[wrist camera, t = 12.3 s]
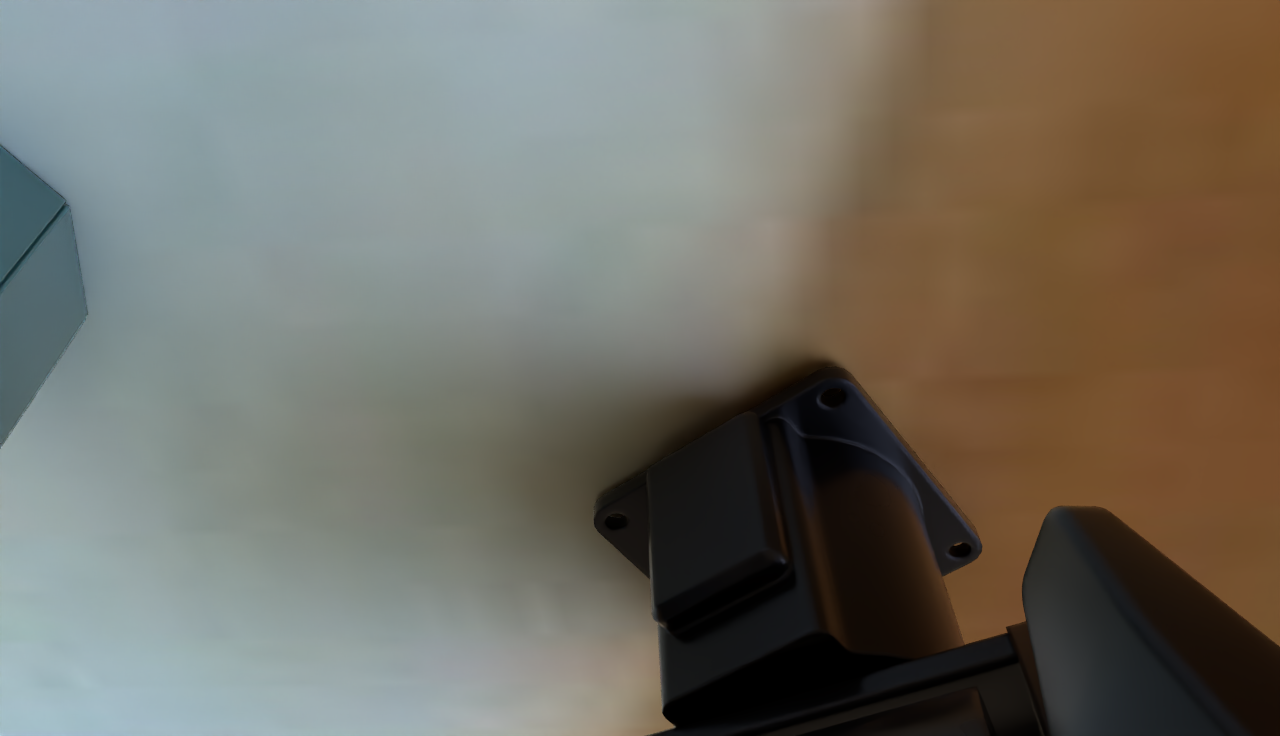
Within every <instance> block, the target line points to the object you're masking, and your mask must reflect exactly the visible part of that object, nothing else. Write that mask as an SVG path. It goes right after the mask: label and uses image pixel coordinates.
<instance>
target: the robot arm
mask: <svg viewBox="0 0 1280 736" xmlns="http://www.w3.org/2000/svg"><path fill="white" fill-rule="evenodd" d="M831 388H839V389H841V391H839V392H838V393H837V394H835V395H832V396H824V395H822V394H823V393H824V392H825V391H826V390H828V389H831ZM614 513H618V514H623V515H624V516H622V517H619V518H616V517H611V516H609V515H611V514H614ZM594 526H595V528H596V529H597V531H598V532H599V533H600V534H601V535H602V536H603V537H604V538H605V539H607V540H608V541H609V542H610V543H611V544H612V545H613V546H614V547H615V548H616V549H617V550H619V551H620V552H621V553H622V554H623V555H624V556H625V557H626V558H627V559H628V560H630V561H631V562H632V563H633V564H634V565H635V566H636V567H637V568H638V569H639V570H640V571H642V572H643V573H644V574H645V575H646V576H647V577H648V578H649V579H650V586H651V607H652V616H653V619H654V620H655V621H656V622H657V623H658V640H659V660H660V679H661V698H662V713H663V715H664V717H665V718H666V719H667V720H668V721H670V722H671V723H672V724H673V725H674V728H671V729H667V730H664V731H660V732H657V733H653V734H650V735H646V736H1280V647H1279V646H1278V645H1277V644H1276V643H1274V642H1273V641H1272V640H1271V639H1269V638H1268V637H1267V636H1266V635H1264V634H1263V633H1262V632H1261V631H1259V630H1258V629H1257V628H1256V627H1254V626H1253V625H1252V624H1251V623H1249V622H1248V621H1247V620H1246V619H1244V618H1243V617H1242V616H1241V615H1239V614H1238V613H1237V612H1235V611H1234V610H1233V609H1232V608H1230V607H1229V606H1228V605H1227V604H1225V603H1224V602H1223V601H1222V600H1220V599H1219V598H1218V597H1217V596H1215V595H1214V594H1213V593H1212V592H1210V591H1209V590H1208V589H1207V588H1205V587H1204V586H1203V585H1202V584H1200V583H1199V582H1198V581H1197V580H1195V579H1194V578H1193V577H1192V576H1190V575H1189V574H1188V573H1187V572H1185V571H1184V570H1183V569H1181V568H1180V567H1179V566H1178V565H1176V564H1175V563H1174V562H1173V561H1171V560H1170V559H1169V558H1168V557H1166V556H1165V555H1164V554H1163V553H1161V552H1160V551H1159V550H1158V549H1156V548H1155V547H1154V546H1153V545H1151V544H1150V543H1149V542H1148V541H1146V540H1145V539H1144V538H1143V537H1141V536H1140V535H1139V534H1138V533H1136V532H1135V531H1134V530H1133V529H1131V528H1130V527H1129V526H1128V525H1126V524H1125V523H1124V522H1122V521H1121V520H1120V519H1119V518H1117V517H1116V516H1115V515H1114V514H1112V513H1111V512H1109V511H1108V510H1106V509H1104V508H1101V507H1096V506H1058V507H1055V508H1053V509H1051V510H1050V511H1049V512H1048V514H1047V515H1046V517H1045V519H1044V521H1043V524H1042V527H1041V530H1040V532H1039V535H1038V538H1037V541H1036V543H1035V546H1034V549H1033V552H1032V554H1031V557H1030V560H1029V563H1028V566H1027V568H1026V571H1025V574H1024V578H1023V584H1022V599H1023V607H1024V612H1025V617H1026V622H1022V623H1019V624H1015V625H1012V626H1008V627H1006V629H1007V632H1008V633H1004V634H1001V635H997V636H994V637H990V638H987V639H983V640H980V641H976V642H973V643H969V644H966V645H964V641H963V638H962V635H961V632H960V629H959V626H958V623H957V620H956V617H955V614H954V611H953V608H952V605H951V602H950V599H949V596H948V593H947V590H946V587H945V584H944V581H943V578H942V576H945V575H947V574H949V573H951V572H953V571H955V570H957V569H959V568H961V567H963V566H965V565H967V564H969V563H971V562H972V561H974V560H975V559H977V558H978V556H979V555H980V554H981V552H982V544H981V541H980V538H979V536H978V533H977V531H976V528H975V527H974V526H973V525H972V523H971V522H970V521H969V520H968V518H967V517H966V516H965V515H964V513H963V512H962V511H961V510H960V508H959V507H958V506H957V505H956V503H955V502H954V501H953V500H952V498H951V497H950V496H949V495H948V494H947V492H946V491H945V490H944V489H943V487H942V486H941V485H940V484H939V482H938V481H937V480H936V479H935V477H934V476H933V475H932V474H931V472H930V471H929V470H928V469H927V467H926V466H925V465H924V464H923V463H922V461H921V460H920V459H919V458H918V456H917V455H916V454H915V453H914V451H913V450H912V449H911V448H910V446H909V445H908V444H907V443H906V441H905V440H904V439H903V438H902V436H901V435H900V434H899V433H898V432H897V430H896V429H895V428H894V427H893V425H892V424H891V423H890V422H889V420H888V419H887V418H886V417H885V415H884V414H883V413H882V412H881V410H880V409H879V408H878V407H877V405H876V404H875V403H874V402H873V401H872V399H871V398H870V397H869V396H868V394H867V393H866V392H865V391H864V389H863V388H862V387H861V386H860V384H859V383H858V382H857V381H856V379H855V378H854V377H853V376H852V374H850V373H849V372H848V371H847V370H845V369H843V368H840V367H825V368H823V369H820V370H817V371H816V372H814V373H812V374H810V375H809V376H807V377H805V378H804V379H802V380H800V381H798V382H797V383H795V384H793V385H792V386H790V387H788V388H786V389H785V390H783V391H781V392H780V393H778V394H776V395H774V396H773V397H771V398H769V399H768V400H766V401H764V402H763V403H761V404H759V405H757V406H756V407H754V408H752V409H751V410H749V411H747V412H745V413H742V414H739V415H737V416H736V417H734V418H732V419H730V420H729V421H727V422H725V423H724V424H722V425H720V426H718V427H717V428H715V429H713V430H712V431H710V432H708V433H706V434H705V435H703V436H701V437H700V438H698V439H696V440H694V441H693V442H691V443H689V444H688V445H686V446H684V447H683V448H681V449H679V450H677V451H676V452H674V453H672V454H671V455H669V456H667V457H665V458H664V459H662V460H660V461H659V462H657V463H655V464H653V465H652V466H650V467H649V469H648V470H646V471H644V472H643V473H641V474H639V475H638V476H636V477H634V478H632V479H631V480H629V481H627V482H626V483H624V484H622V485H620V486H619V487H617V488H615V489H614V490H612V491H610V492H608V493H607V494H605V495H603V496H602V497H601V498H600V499H598V500H597V501H596V504H595V506H594ZM960 542H962V544H960V545H957V546H953V545H954V544H957V543H960Z"/></svg>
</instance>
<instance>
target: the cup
mask: <svg viewBox="0 0 1280 736" xmlns="http://www.w3.org/2000/svg"><path fill="white" fill-rule="evenodd" d="M65 202H66V200H65V199H64V198H63V197H62V196H60V195H59V194H58V193H57V192H56V191H54V190H53V189H52V188H51V187H50V186H48V185H47V184H46V183H45V182H44V181H42V180H41V179H40V178H39V177H38V176H36V175H35V174H34V173H33V172H32V171H30V170H29V169H28V168H27V167H26V166H24V165H23V164H22V163H21V162H20V161H18V160H17V159H16V158H15V157H14V156H12V155H11V154H10V153H9V152H8V151H6V150H5V149H4V148H3V147H2V146H1V145H0V449H1V447H2V446H3V444H4V443H5V441H6V440H7V438H8V437H9V435H10V434H11V432H12V431H13V429H14V428H15V426H16V425H17V423H18V422H19V420H20V419H21V417H22V416H23V414H24V413H25V411H26V409H27V408H28V406H29V405H30V403H31V402H32V400H33V399H34V397H35V396H36V394H37V393H38V391H39V390H40V388H41V387H42V385H43V384H44V382H45V381H46V379H47V378H48V376H49V375H50V373H51V372H52V370H53V369H54V367H55V366H56V364H57V362H58V361H59V359H60V358H61V356H62V355H63V353H64V352H65V350H66V349H67V347H68V346H69V344H70V343H71V341H72V340H73V338H74V337H75V335H76V334H77V332H78V331H79V329H80V328H81V326H82V325H83V323H84V322H85V320H86V316H87V315H88V311H87V306H86V300H85V294H84V288H83V282H82V276H81V271H80V265H79V259H78V253H77V247H76V241H75V236H74V230H73V224H72V218H71V212H70V207H69V205H64V204H65Z"/></svg>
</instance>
